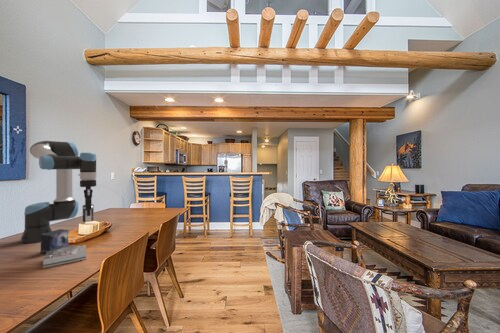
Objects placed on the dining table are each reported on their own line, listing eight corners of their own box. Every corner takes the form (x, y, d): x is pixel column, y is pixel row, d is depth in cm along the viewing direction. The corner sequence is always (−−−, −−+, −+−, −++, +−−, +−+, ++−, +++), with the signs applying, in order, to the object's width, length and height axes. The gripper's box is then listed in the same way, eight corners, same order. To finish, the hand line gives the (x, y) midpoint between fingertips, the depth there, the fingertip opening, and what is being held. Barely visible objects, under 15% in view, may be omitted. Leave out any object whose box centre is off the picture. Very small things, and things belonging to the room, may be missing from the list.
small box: (49, 254, 117) (49, 235, 117) (39, 253, 119) (39, 234, 119) (69, 247, 128) (69, 229, 128) (60, 246, 129) (60, 228, 129)
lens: (82, 220, 124) (82, 204, 124) (93, 219, 127) (93, 203, 127) (82, 222, 120) (82, 206, 120) (94, 221, 123) (94, 205, 123)
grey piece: (46, 259, 111) (46, 249, 111) (85, 251, 121) (85, 242, 121) (43, 268, 101) (43, 257, 101) (86, 259, 111) (86, 249, 111)
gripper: (79, 179, 128) (79, 218, 128) (80, 180, 114) (80, 224, 114) (95, 178, 133) (95, 216, 133) (97, 180, 119) (97, 222, 119)
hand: (88, 220), depth 124 cm, fingers closed on lens, 5 cm apart
